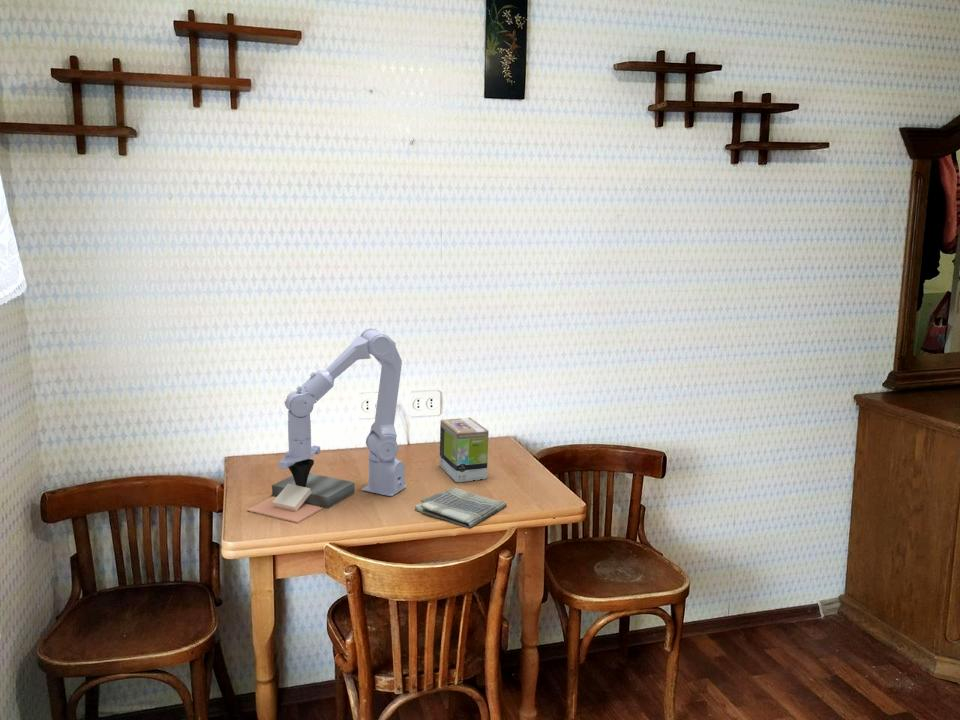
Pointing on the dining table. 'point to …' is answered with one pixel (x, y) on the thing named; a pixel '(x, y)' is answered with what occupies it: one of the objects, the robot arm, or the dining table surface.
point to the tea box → (463, 449)
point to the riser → (320, 489)
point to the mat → (284, 511)
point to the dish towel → (460, 507)
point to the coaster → (292, 497)
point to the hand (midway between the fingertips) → (301, 487)
